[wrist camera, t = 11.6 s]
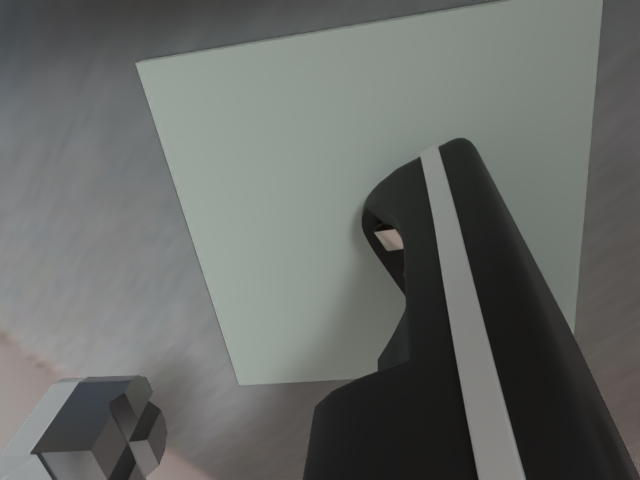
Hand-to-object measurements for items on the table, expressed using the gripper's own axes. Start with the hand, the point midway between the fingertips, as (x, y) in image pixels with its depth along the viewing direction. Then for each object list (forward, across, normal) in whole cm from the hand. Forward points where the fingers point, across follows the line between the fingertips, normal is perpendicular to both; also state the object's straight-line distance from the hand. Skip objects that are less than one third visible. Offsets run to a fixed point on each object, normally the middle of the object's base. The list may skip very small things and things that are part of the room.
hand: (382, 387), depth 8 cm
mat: (+6, 0, 0) cm, 6 cm away
